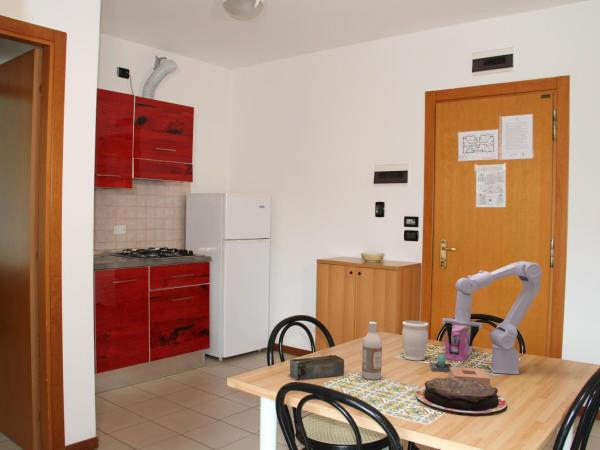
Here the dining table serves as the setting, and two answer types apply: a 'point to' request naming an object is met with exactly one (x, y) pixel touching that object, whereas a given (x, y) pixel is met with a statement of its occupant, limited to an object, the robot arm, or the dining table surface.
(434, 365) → the mount
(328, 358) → the dark grey long block
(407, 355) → the jar
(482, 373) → the socket
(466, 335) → the gum box
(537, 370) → the dining table surface
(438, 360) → the pin
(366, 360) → the bath foam
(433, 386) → the chocolate cake
